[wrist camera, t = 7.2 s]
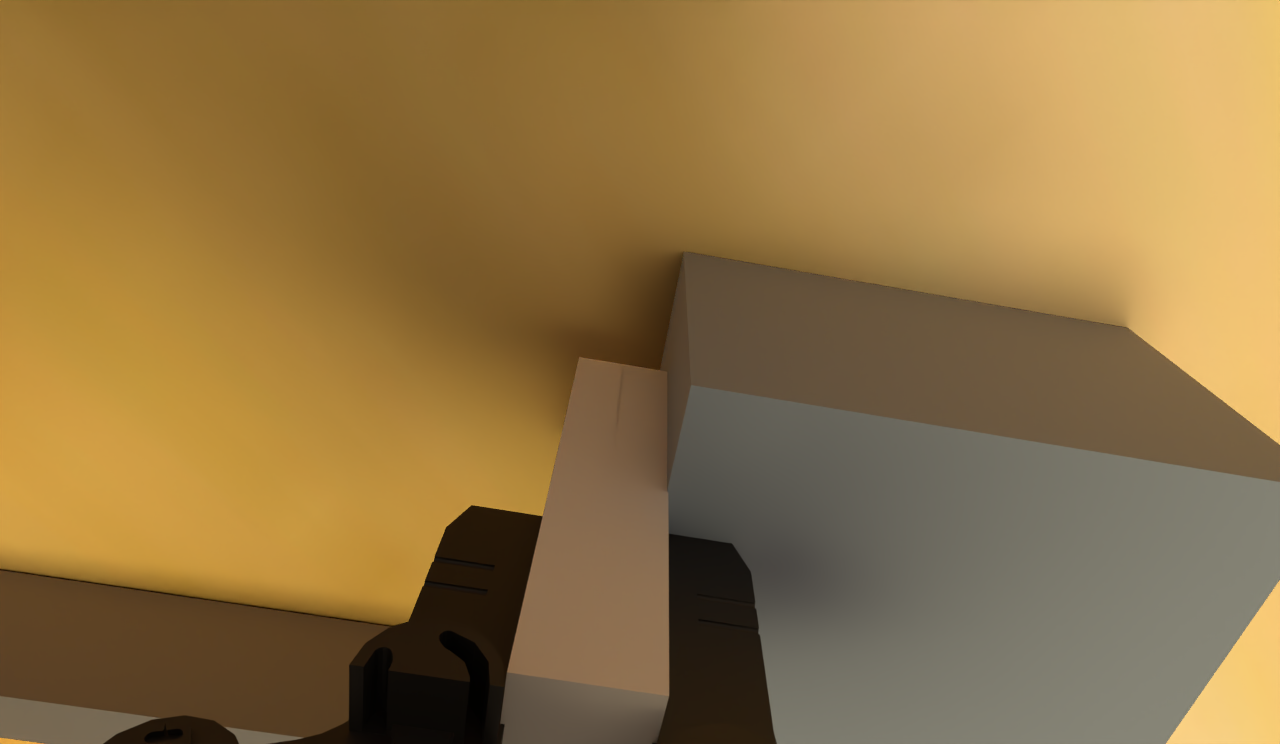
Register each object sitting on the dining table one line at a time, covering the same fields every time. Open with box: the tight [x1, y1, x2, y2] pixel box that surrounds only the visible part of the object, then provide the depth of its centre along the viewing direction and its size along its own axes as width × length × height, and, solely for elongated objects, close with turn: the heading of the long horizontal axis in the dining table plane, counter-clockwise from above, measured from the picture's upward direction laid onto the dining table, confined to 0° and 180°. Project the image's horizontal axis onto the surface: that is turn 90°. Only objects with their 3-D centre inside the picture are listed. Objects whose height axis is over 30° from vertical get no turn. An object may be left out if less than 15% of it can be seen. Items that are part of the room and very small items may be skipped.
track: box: [0, 570, 390, 744], centre depth 13 cm, size 16×20×3 cm
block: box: [660, 252, 1280, 744], centre depth 13 cm, size 6×8×5 cm
